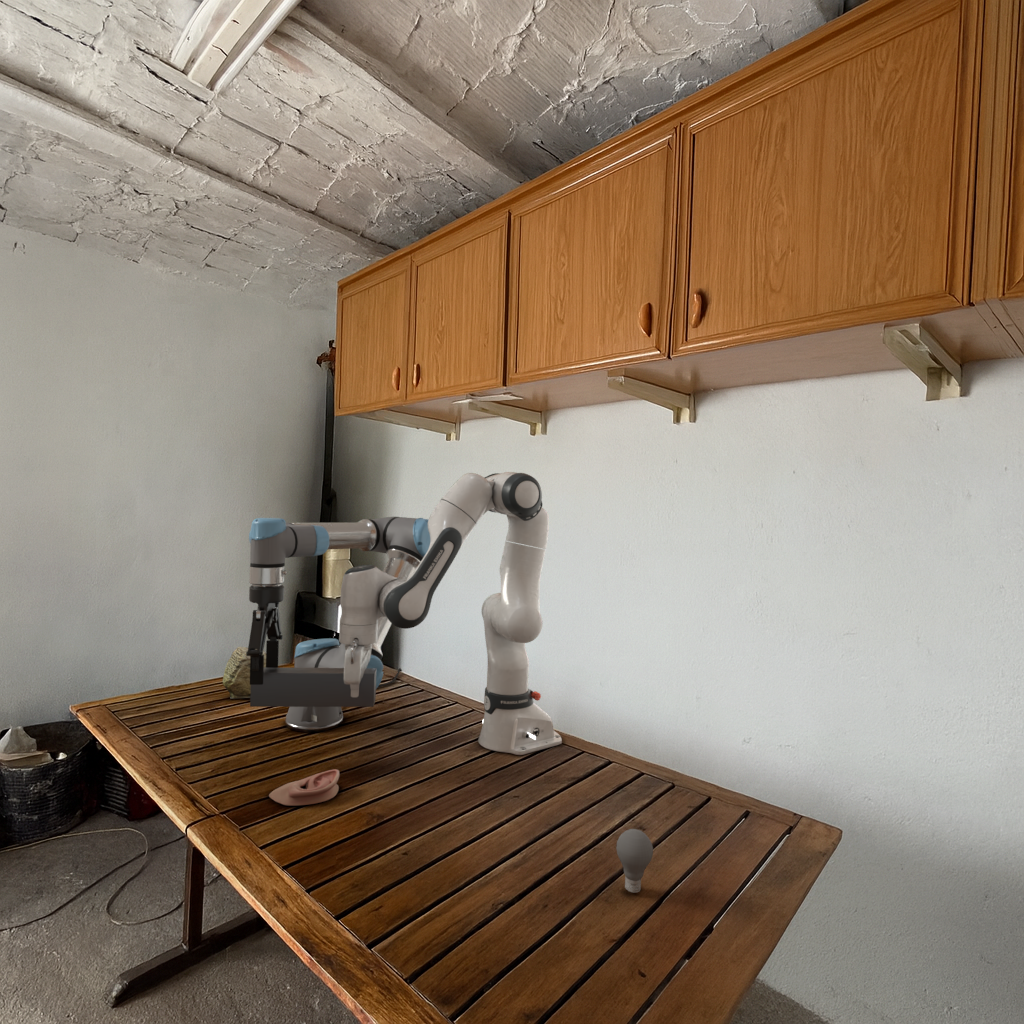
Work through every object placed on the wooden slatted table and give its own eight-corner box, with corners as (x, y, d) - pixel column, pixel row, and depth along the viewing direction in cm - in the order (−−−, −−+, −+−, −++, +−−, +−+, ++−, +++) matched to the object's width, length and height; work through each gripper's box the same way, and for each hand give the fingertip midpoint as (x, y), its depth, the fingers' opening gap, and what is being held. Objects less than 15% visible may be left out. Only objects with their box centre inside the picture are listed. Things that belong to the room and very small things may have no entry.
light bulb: (610, 879, 108) (613, 822, 108) (644, 879, 109) (647, 822, 109) (619, 902, 102) (622, 840, 102) (655, 901, 103) (658, 840, 103)
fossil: (218, 695, 195) (220, 647, 195) (278, 685, 208) (279, 640, 207) (228, 703, 189) (230, 653, 188) (289, 692, 201) (290, 645, 201)
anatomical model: (261, 782, 130) (291, 760, 141) (260, 801, 130) (290, 778, 141) (320, 791, 127) (346, 768, 139) (319, 811, 127) (345, 786, 139)
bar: (250, 706, 145) (251, 672, 145) (255, 700, 149) (256, 667, 149) (373, 706, 148) (374, 673, 148) (375, 700, 152) (376, 668, 152)
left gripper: (270, 593, 135) (267, 692, 135) (295, 577, 160) (293, 661, 160) (233, 592, 134) (230, 692, 135) (264, 577, 159) (262, 660, 159)
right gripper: (367, 644, 139) (365, 706, 140) (376, 625, 160) (374, 680, 160) (337, 644, 139) (335, 706, 139) (351, 625, 159) (349, 679, 159)
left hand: (264, 675), depth 147 cm, fingers open, 13 cm apart
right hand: (356, 692), depth 150 cm, fingers closed on bar, 4 cm apart
